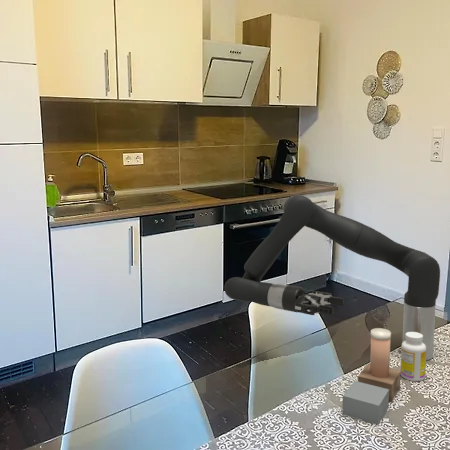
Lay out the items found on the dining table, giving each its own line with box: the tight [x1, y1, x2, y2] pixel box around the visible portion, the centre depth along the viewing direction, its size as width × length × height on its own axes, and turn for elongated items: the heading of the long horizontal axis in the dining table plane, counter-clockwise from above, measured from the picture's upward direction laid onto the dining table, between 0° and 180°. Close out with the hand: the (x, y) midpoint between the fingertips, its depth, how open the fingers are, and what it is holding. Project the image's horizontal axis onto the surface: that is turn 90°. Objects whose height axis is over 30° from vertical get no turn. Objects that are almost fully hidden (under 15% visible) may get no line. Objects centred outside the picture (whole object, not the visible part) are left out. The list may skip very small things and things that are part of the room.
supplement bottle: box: [400, 332, 427, 382], centre depth 137 cm, size 7×7×13 cm
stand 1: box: [357, 363, 402, 403], centre depth 130 cm, size 9×9×5 cm
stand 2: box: [342, 380, 390, 426], centre depth 120 cm, size 9×9×5 cm
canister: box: [369, 327, 392, 378], centre depth 129 cm, size 5×5×12 cm
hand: (338, 306), depth 133 cm, fingers open, 8 cm apart
